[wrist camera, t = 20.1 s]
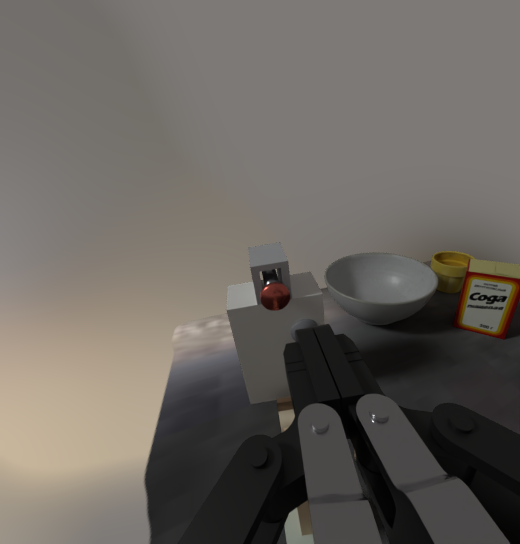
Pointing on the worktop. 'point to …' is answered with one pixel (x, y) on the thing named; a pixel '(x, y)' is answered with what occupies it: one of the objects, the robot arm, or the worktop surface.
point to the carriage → (299, 525)
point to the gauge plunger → (273, 292)
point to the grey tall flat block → (270, 322)
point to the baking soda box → (488, 297)
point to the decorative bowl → (380, 286)
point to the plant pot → (450, 270)
